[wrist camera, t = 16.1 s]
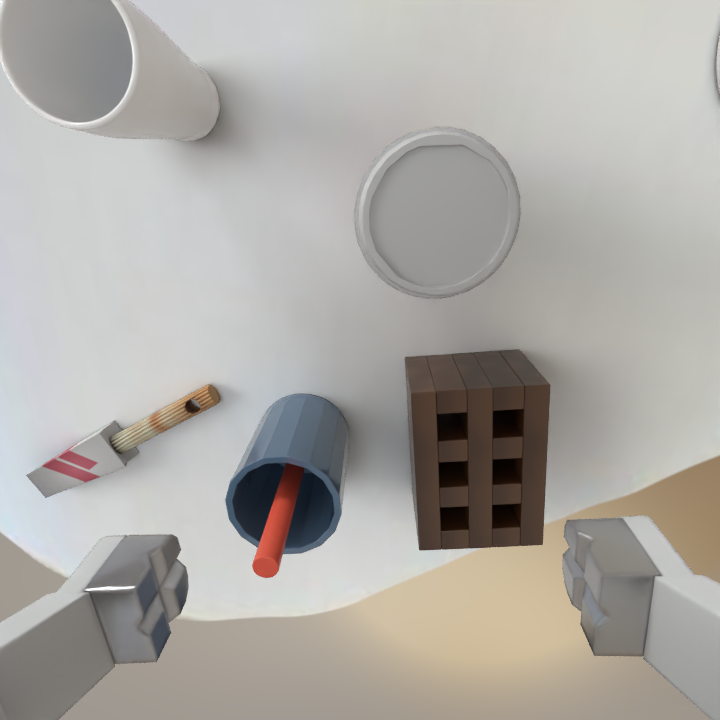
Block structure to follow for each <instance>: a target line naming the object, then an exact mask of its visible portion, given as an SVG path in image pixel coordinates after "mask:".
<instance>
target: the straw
mask: <svg viewBox="0 0 720 720" xmlns="http://www.w3.org/2000/svg"><path fill="white" fill-rule="evenodd" d="M304 469H305V468H304V467H300V466H297V465H293V464H290V463H287V462H286V465H285V468H284V471H283V474H282V477H281V480H280V483H279V486H278V489H277V492H276V495H275V498H274V501H273V504H272V507H271V510H270V513H269V516H268V519H267V522H266V525H265V528H264V531H263V534H262V537H261V540H260V543H259V546H258V549H257V552H256V555H255V558H254V561H253V570H254V572H255V573H256V574H257V575H259V576H261V577H264V578H269V577H273V576H274V575H276V574H277V572H278V570H279V566H280V563H281V559H282V555H283V551H284V547H285V543H286V539H287V535H288V531H289V528H290V524H291V520H292V516H293V512H294V508H295V504H296V500H297V497H298V493H299V489H300V485H301V481H302V477H303V473H304Z"/></svg>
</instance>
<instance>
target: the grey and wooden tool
mask: <svg viewBox="0 0 720 720" xmlns="http://www.w3.org/2000/svg"><path fill="white" fill-rule="evenodd" d="M219 397H220V396H219V395H218V392H217V390H216V389H215V388H214V387H213V386H212V385H207V386H205V387H203V388H201V389H199V390H197V391H196V392H194V393H192V394H190V395H188V396H186V397H184V398H183V399H181V400H179V401H177V402H175V403H173V404H171V405H170V406H168V407H166V408H164V409H162V410H160V411H159V412H157V413H155V414H153V415H151V416H149V417H148V418H146V419H144V420H142V421H140V422H138V423H137V424H135V425H133V426H131V427H129V428H127V429H125V430H123V431H122V430H121V428H120V427H119V426H118V424H117V423H116V422H115V421H113V422H111V423H110V424H108V425H107V426H105V427H103V428H102V429H100V430H98V431H97V432H95V433H94V434H92V435H90V436H89V437H87V438H86V439H84V440H82V441H81V442H79V443H77V444H76V445H74V446H73V447H71V448H69V449H68V450H66V451H65V452H63V453H61V454H60V455H58V456H56V457H55V458H53V459H52V460H50V461H48V462H47V463H45V464H44V465H42V466H40V467H39V468H37V469H35V470H34V471H32V472H31V473H29V474H27V475H26V476H27V477H28V478H29V479H30V480H31V481H32V483H33V484H34V485H35V486H36V487H37V488H38V490H39V491H40V492H41V493H42V494H43V495H44V496H45V498H46V497H49V496H52V495H54V494H57V493H59V492H62V491H65V490H67V489H70V488H72V487H75V486H78V485H80V484H83V483H85V482H88V481H91V480H93V479H96V478H98V477H101V476H104V475H106V474H109V473H111V472H114V471H117V470H119V469H122V468H124V467H126V464H127V462H128V461H129V460H130V459H131V458H133V457H134V456H135V455H137V454H138V453H139V452H138V450H137V449H136V448H135V446H137V445H139V444H141V443H143V442H145V441H147V440H148V439H150V438H152V437H154V436H156V435H158V434H160V433H162V432H164V431H166V430H168V429H170V428H172V427H174V426H176V425H178V424H180V423H182V422H183V421H185V420H187V419H189V418H191V417H193V416H195V415H197V414H199V413H201V412H203V411H205V410H207V409H209V408H210V407H212V406H214V405H216V404H218V403H219V402H220V401H219V400H220V398H219ZM191 399H192V400H196V401H197V402H198V403H199V405H200V406H201V408H198V407H195V406H194V405H193V404H192V402H191Z"/></svg>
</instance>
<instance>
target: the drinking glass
mask: <svg viewBox="0 0 720 720" xmlns="http://www.w3.org/2000/svg"><path fill="white" fill-rule="evenodd" d="M0 62H1V64H2V67H3V70H4V72H5V74H6V76H7V78H8V80H9V82H10V84H11V85H12V87H13V88H14V90H15V91H16V92H17V94H18V95H19V96H20V98H21V99H22V100H23V101H24V102H25V103H26V104H27V105H28V106H29V107H30V108H31V109H32V110H34V111H35V112H36V113H37V114H39V115H40V116H42V117H43V118H45V119H47V120H48V121H50V122H52V123H55V124H57V125H60V126H63V127H67V128H70V129H74V130H77V131H81V132H85V133H89V134H93V135H98V136H104V137H110V138H120V139H175V140H179V141H195V140H198V139H200V138H202V137H204V136H205V135H207V134H208V133H209V132H210V131H211V130H212V128H213V127H214V125H215V124H216V121H217V119H218V115H219V107H220V104H219V96H218V92H217V89H216V87H215V85H214V83H213V81H212V79H211V78H210V76H209V75H208V74H207V73H206V72H205V71H204V70H203V69H202V68H201V67H199V66H198V65H197V64H195V63H194V62H193V61H192V60H191V59H190V58H189V57H188V56H187V55H186V54H185V53H184V52H183V51H182V50H181V49H180V48H179V47H178V46H177V45H176V44H175V43H174V42H173V41H172V40H171V39H170V38H169V37H168V35H167V34H166V33H165V32H164V31H163V30H162V29H161V28H160V27H159V26H158V25H157V24H156V23H155V22H154V21H153V20H152V19H151V18H150V17H149V16H147V15H146V14H145V13H144V12H143V11H142V10H141V9H140V8H138V7H137V6H136V5H135V4H133V3H132V2H131V1H130V0H1V2H0Z"/></svg>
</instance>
